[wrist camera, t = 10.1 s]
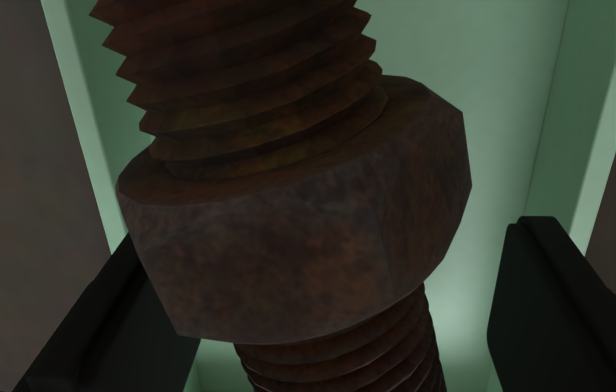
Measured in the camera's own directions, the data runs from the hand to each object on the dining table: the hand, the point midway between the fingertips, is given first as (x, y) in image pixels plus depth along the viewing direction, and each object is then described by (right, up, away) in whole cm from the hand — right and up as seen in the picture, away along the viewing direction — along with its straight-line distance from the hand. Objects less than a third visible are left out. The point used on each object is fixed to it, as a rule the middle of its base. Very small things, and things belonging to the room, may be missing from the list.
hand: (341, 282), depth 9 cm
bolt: (0, 0, +1) cm, 1 cm away
